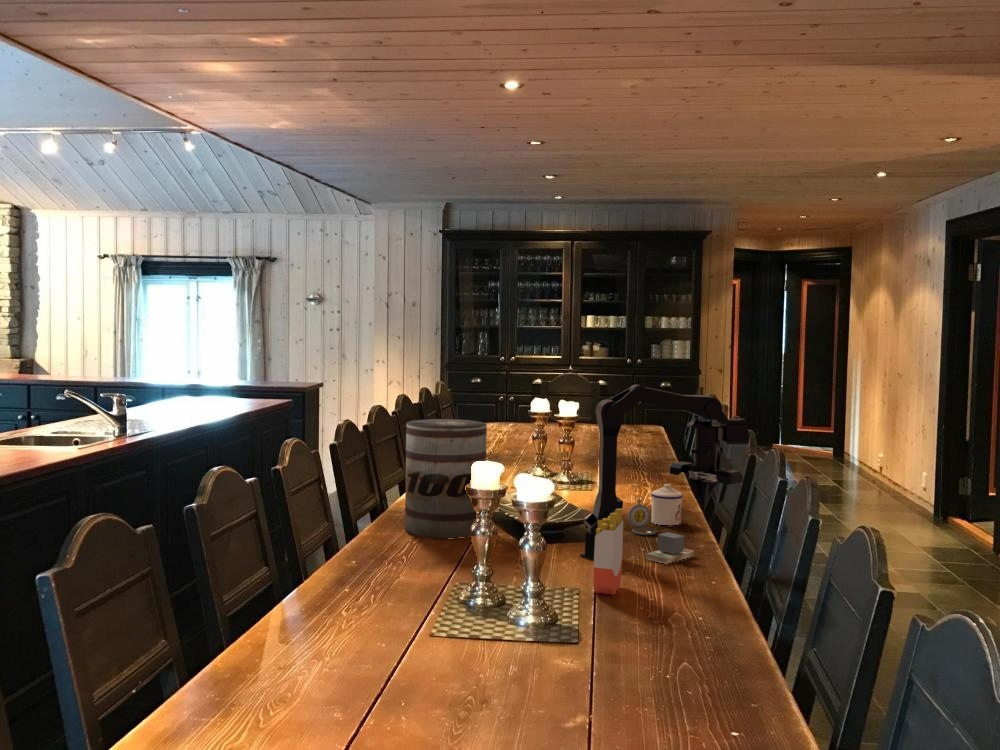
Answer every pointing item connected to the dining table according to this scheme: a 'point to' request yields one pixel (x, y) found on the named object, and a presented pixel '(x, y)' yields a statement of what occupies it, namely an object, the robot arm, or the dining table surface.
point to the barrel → (441, 476)
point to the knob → (670, 543)
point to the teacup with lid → (666, 506)
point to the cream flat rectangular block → (669, 556)
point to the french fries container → (608, 553)
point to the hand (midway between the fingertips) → (704, 506)
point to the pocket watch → (637, 514)
